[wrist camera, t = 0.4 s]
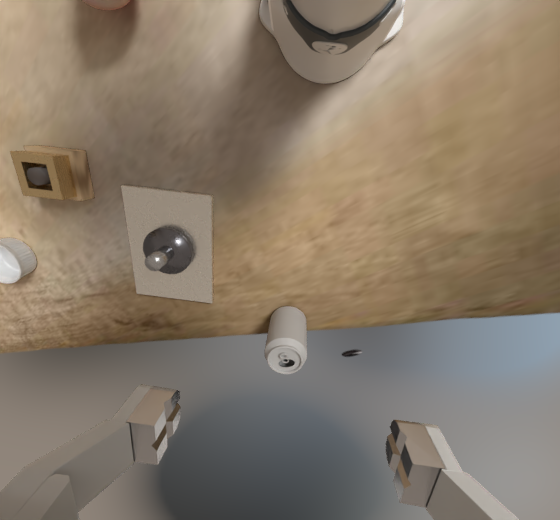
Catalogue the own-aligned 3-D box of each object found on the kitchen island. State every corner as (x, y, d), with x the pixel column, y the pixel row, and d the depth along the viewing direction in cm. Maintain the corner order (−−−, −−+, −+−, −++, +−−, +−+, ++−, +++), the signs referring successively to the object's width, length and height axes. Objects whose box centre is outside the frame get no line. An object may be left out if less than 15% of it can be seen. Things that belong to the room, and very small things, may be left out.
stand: (40, 145, 45) (2, 145, 39) (85, 150, 45) (53, 151, 39) (52, 192, 48) (18, 199, 43) (94, 197, 48) (66, 205, 42)
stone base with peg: (124, 184, 47) (93, 191, 40) (213, 194, 46) (197, 204, 39) (139, 291, 56) (116, 311, 49) (213, 300, 55) (201, 323, 48)
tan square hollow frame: (28, 150, 43) (10, 151, 40) (68, 155, 42) (52, 156, 40) (40, 192, 45) (23, 195, 43) (77, 196, 45) (62, 200, 42)
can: (275, 335, 58) (269, 380, 47) (266, 306, 55) (258, 347, 44) (309, 330, 56) (311, 375, 45) (302, 301, 54) (302, 341, 43)
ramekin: (5, 271, 56) (-17, 280, 53) (-9, 231, 53) (-34, 239, 49) (45, 276, 56) (26, 286, 52) (34, 237, 53) (12, 245, 49)
